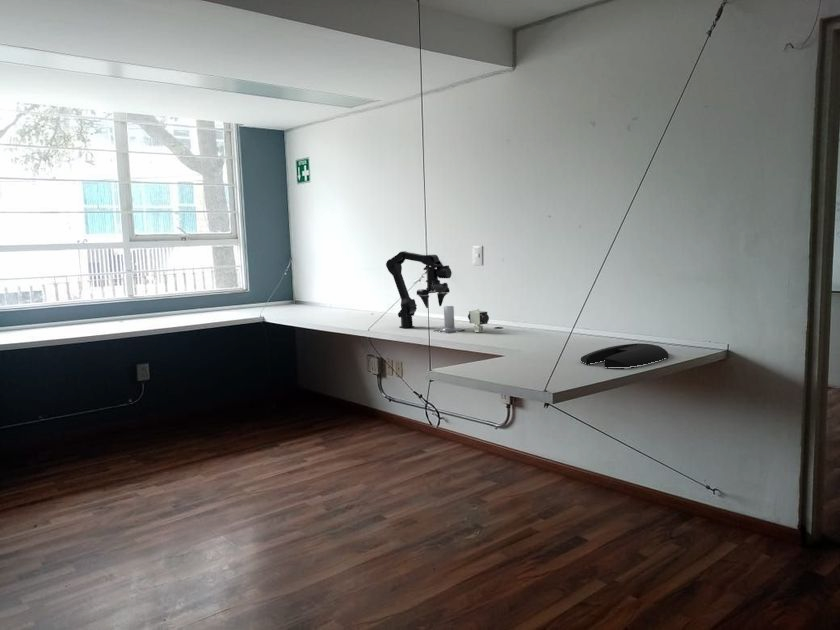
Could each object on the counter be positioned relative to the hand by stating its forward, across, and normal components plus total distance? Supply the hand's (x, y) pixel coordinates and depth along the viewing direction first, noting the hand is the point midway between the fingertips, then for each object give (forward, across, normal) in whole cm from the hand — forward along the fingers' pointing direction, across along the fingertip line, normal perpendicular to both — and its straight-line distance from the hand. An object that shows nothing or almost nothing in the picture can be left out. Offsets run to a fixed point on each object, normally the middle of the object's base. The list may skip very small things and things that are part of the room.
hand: (433, 307), depth 367 cm
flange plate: (+12, +1, -11) cm, 16 cm away
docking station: (+13, -1, -123) cm, 124 cm away
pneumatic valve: (+12, +8, -27) cm, 31 cm away
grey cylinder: (+11, +1, -11) cm, 16 cm away
